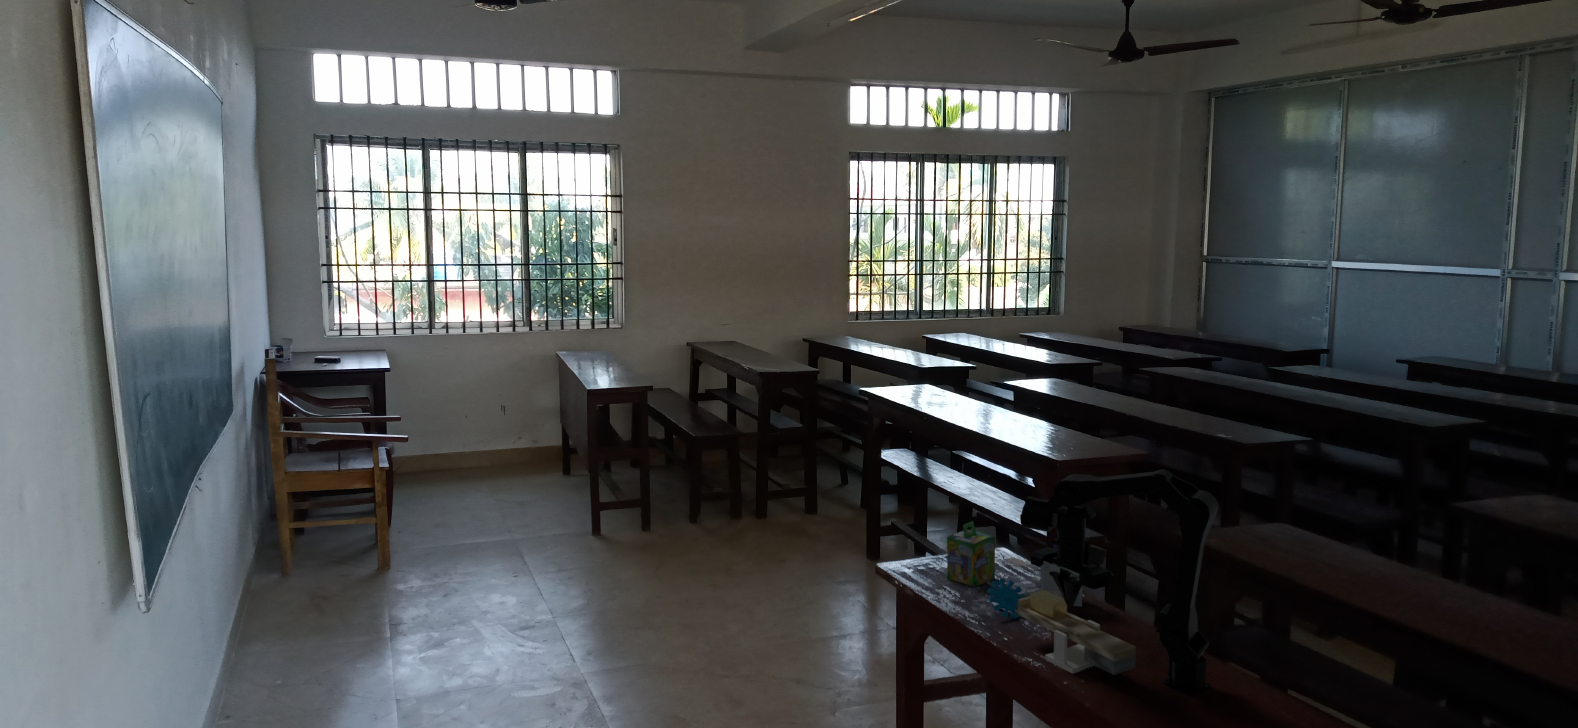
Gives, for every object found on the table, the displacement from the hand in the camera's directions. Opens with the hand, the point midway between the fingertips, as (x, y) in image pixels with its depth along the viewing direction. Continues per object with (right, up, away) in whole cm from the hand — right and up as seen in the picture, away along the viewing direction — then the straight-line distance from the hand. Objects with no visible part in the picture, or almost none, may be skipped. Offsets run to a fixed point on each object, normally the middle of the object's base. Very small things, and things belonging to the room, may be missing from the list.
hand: (1070, 605), depth 217 cm
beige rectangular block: (-3, -3, +6) cm, 8 cm away
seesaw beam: (+1, -9, 0) cm, 9 cm away
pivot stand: (+1, -12, 0) cm, 12 cm away
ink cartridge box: (+6, -7, +31) cm, 33 cm away
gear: (-7, -8, +26) cm, 28 cm away
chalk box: (-12, -5, +48) cm, 50 cm away
